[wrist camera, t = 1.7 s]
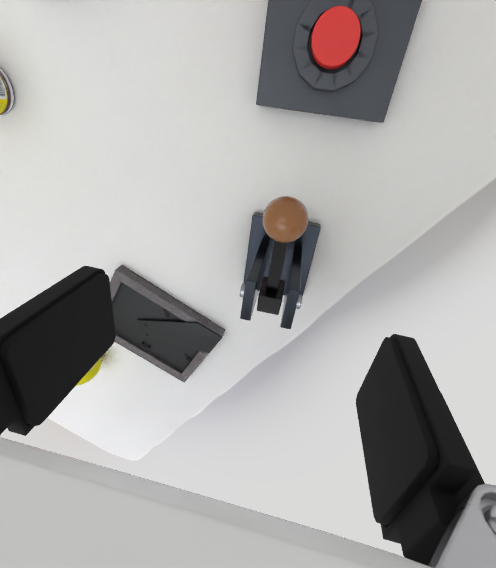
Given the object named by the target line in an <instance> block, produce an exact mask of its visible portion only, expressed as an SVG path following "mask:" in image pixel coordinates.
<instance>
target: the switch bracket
mask: <svg viewBox="0 0 496 568" xmlns="http://www.w3.org/2000/svg"><path fill="white" fill-rule="evenodd" d="M319 231H320V224H317V223H311V222H308V224H307V228H306V230H305V232H304V233H303V234H302V235H301V236H300V237H299V238H298V239H296V240H294V241H292V242H288V246H287V251H286V256H285V260H284V265H283V269H282V274H281V278H280V279H281V280H285V286H284V292H283V295H285V297H284V304H283V312H282V319H281V327H282V328H287V329H291V325H292V321H293V317H294V314H295V310H296V308H298V309H300V307H301V302H302V296H303V293H304V289H305V285H306V281H307V277H308V273H309V270H310V266H311V262H312V258H313V254H314V251H315V247H316V243H317V239H318V235H319ZM273 242H274V239H272V238H271V237H270V236H269V235H268V234H267V233H266V231H265V229H264V226H263V214H260V213H254V214H253V217H252V225H251V232H250V239H249V247H248V254H247V261H246V269H245V276H244V283H243V284H242V286H241V291H240V297H243V303H242V310H241V317H240V318H241V319H245V320H250V319H251V316H252V313H253V309H254V306H255V302H256V299H257V295H258V292H259V290H260V288H261V284H262V280H263V276H265V277H268V274H269V268H270V261H271V255H272V249H273Z"/></svg>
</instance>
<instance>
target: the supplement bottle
mask: <svg viewBox="0 0 496 568" xmlns="http://www.w3.org/2000/svg"><path fill="white" fill-rule="evenodd" d="M13 101H14V95H13V90H12V87H11V84H10V82H9V80H8V78H7V76H6V75H5V73H4V72H3V71H2V70H1V69H0V115H3V114H6V113H7V112H9V111H10V109H11V108H12V105H13Z"/></svg>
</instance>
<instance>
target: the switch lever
mask: <svg viewBox="0 0 496 568" xmlns="http://www.w3.org/2000/svg"><path fill="white" fill-rule="evenodd" d="M307 224H308V213H307V210H306V208H305V206H304V205H303V204H302V203H301V202H300V201H299V200H297V199H296V198H293V197H288V196H284V197H279V198H276V199H275V200H273V201H272V202H270V203H269V205H268V206H267V207H266V209H265V211H264V214H263V226H264V229H265V231H266V233H267V234H268V235H269V236H270V237H271V238H272V239H274V242H273V249H272V255H271V261H270V268H269V274H268V277H265V276H263V280H262V284H261V288H260V292H259V297H258V305H257V311H262V312H266V313H271V314H276V315H278V314H279V310H280V306H281V302H282V297H283V292H284V286H285V280H281V279H280V278H281V274H282V269H283V265H284V260H285V256H286V251H287V246H288V242H292V241H294V240H296V239H298V238H299V237H300V236H301V235H302V234H303V233H304V232H305V230H306V228H307Z"/></svg>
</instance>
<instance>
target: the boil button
mask: <svg viewBox="0 0 496 568" xmlns="http://www.w3.org/2000/svg"><path fill="white" fill-rule="evenodd" d="M360 33H361V28H360V22H359V19H358V17H357V15H356V14H355V13H354V11H352V10H351V9H350V8H348V7H345V6H335V7H332V8H330V9H328V10H327V11H326V12H324V13H323V14H322V15H321V16H320V18H319V19H318V21H317V22H316V24H315V27H314V30H313V33H312V43H311V48H312V54H313V57H314V59H315V61H316V62H317V64H318V65H319V66H321V67H322V68H325V69H337V68H339V67H341V66H343V65H344V64H345V63H346V62H347V61H348V60H349V59H350V58H351V56H352V55H353V53H354V52H355V50H356V48H357V46H358V43H359V40H360Z"/></svg>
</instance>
